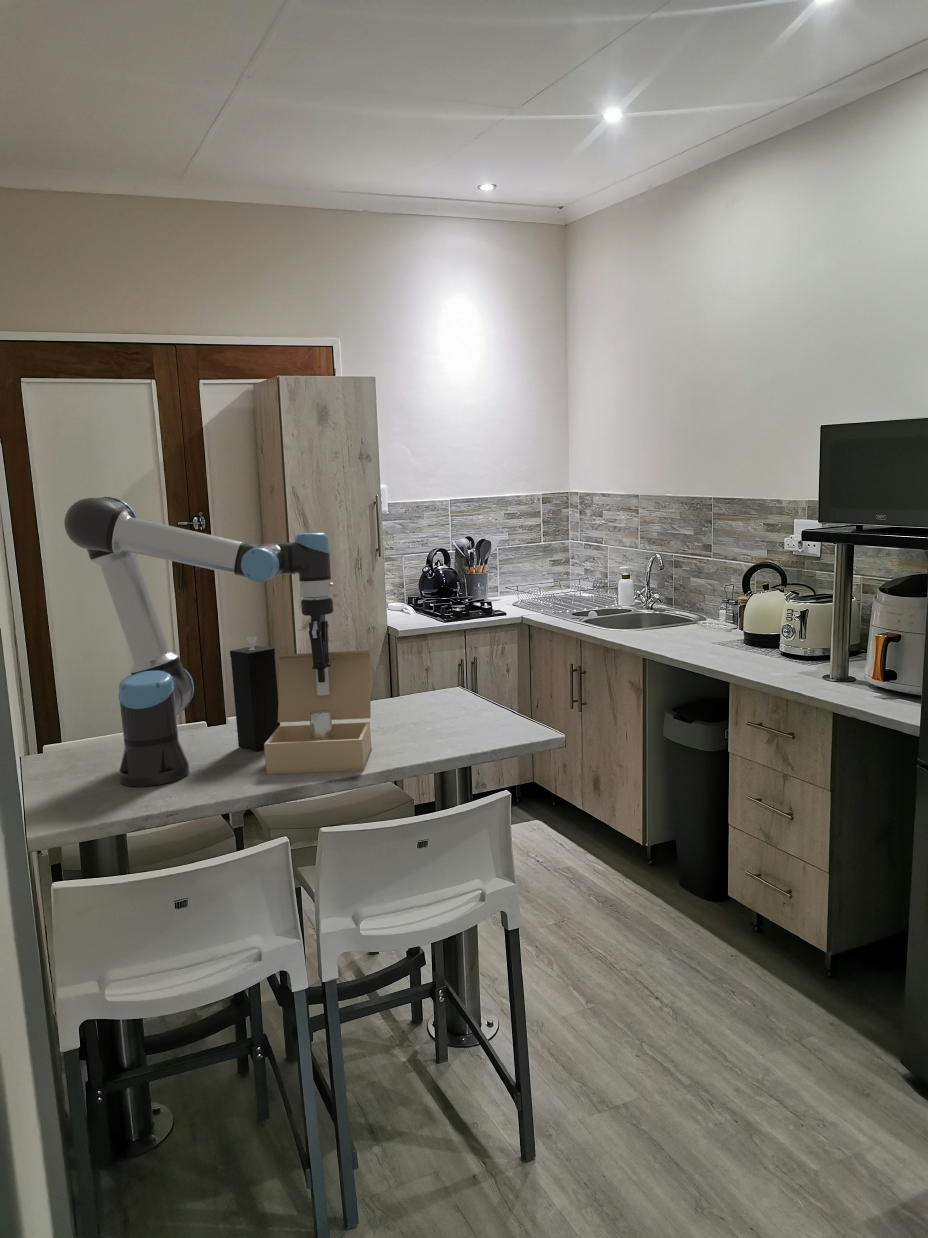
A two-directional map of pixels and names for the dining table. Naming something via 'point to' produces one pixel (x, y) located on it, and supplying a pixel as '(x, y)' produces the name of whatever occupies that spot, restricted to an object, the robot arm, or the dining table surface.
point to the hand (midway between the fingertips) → (323, 694)
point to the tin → (321, 725)
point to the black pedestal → (255, 694)
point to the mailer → (318, 749)
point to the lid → (344, 686)
